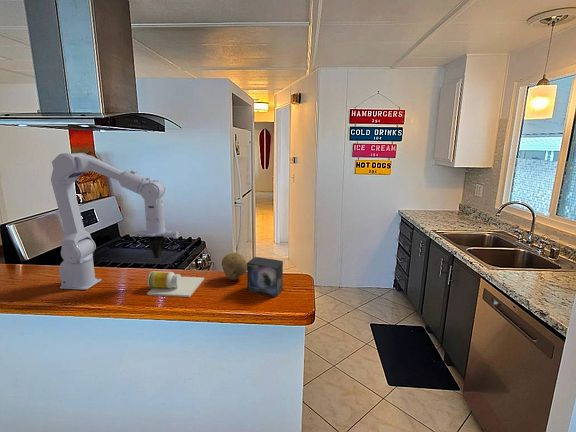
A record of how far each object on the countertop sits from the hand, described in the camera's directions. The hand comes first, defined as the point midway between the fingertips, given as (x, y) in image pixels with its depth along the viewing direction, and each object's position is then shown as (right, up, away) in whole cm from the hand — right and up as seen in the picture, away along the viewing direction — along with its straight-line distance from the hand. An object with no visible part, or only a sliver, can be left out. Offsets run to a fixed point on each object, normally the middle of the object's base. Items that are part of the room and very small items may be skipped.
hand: (157, 257), depth 108 cm
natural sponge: (+25, -9, +7) cm, 27 cm away
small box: (+36, -11, -1) cm, 38 cm away
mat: (+6, -10, +1) cm, 12 cm away
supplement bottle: (-2, -7, -2) cm, 7 cm away
